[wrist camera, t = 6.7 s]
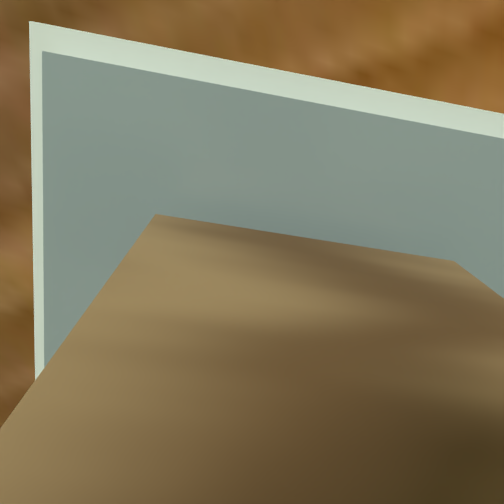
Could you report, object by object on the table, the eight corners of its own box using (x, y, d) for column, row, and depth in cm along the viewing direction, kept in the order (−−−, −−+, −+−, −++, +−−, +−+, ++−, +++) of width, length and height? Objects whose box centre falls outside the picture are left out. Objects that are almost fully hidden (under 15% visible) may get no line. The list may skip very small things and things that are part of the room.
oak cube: (454, 260, 8) (936, 625, 2) (372, 476, 10) (533, 937, 5) (155, 213, 8) (-82, 544, 2) (133, 451, 10) (-13, 939, 4)
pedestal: (521, 124, 11) (617, 133, 8) (393, 451, 15) (428, 530, 12) (76, 38, 10) (12, 14, 7) (68, 415, 14) (26, 493, 11)
